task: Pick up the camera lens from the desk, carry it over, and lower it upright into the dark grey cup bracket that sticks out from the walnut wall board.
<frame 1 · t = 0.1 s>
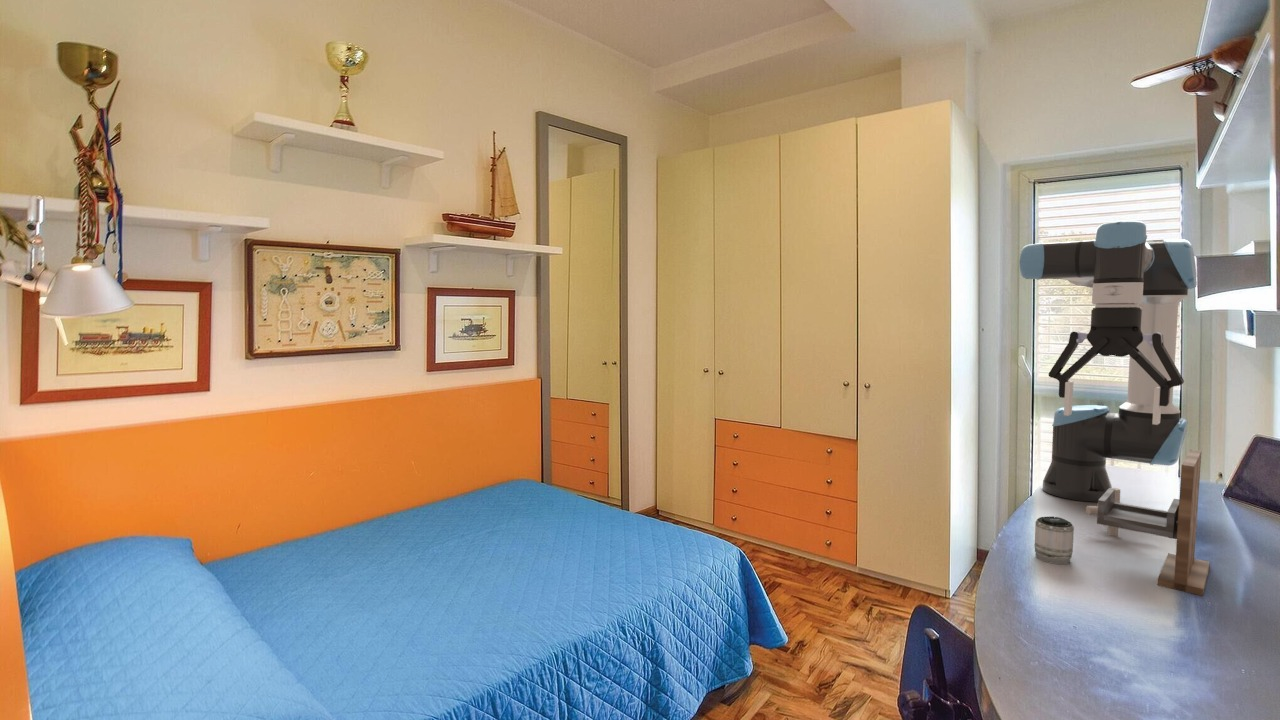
hand: (1110, 419, 119), 28 cm above the table, tool pointing down, fingers open, 13 cm apart
pipe connector: (1112, 535, 136), on the table
cup bracket: (1135, 565, 119), on the table
camera lens: (1052, 559, 123), on the table
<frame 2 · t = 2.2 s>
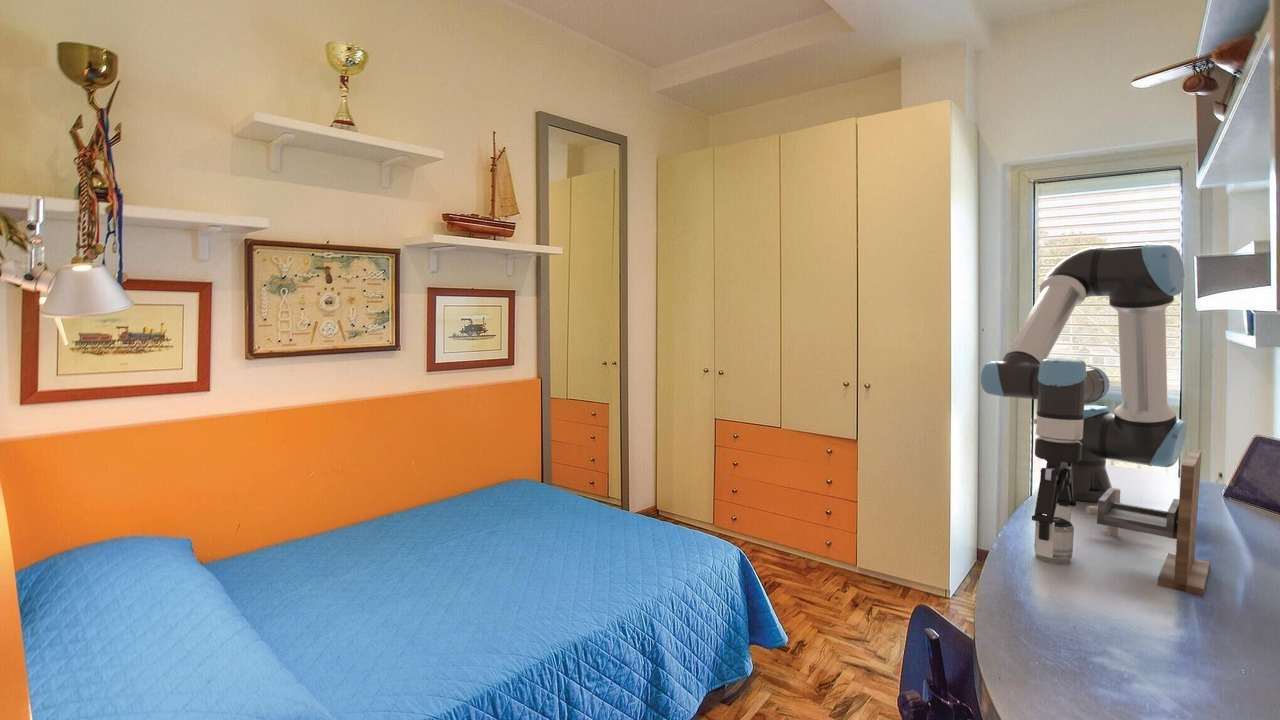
hand: (1052, 546, 123), 2 cm above the table, tool pointing down, fingers open, 13 cm apart
nothing on the table moved.
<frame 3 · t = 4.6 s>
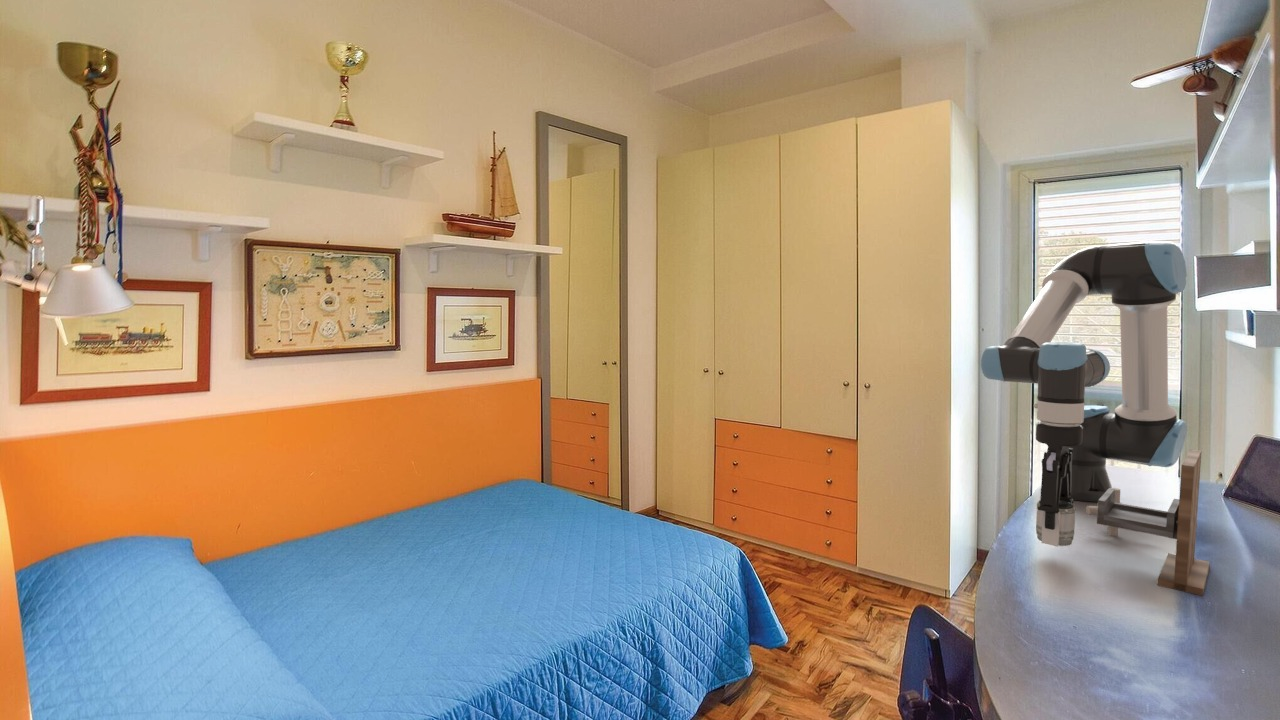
hand: (1054, 538, 123), 4 cm above the table, tool pointing down, fingers closed on camera lens, 6 cm apart
camera lens: (1054, 541, 123), point 3 cm above the table, touching gripper
everything else where it was.
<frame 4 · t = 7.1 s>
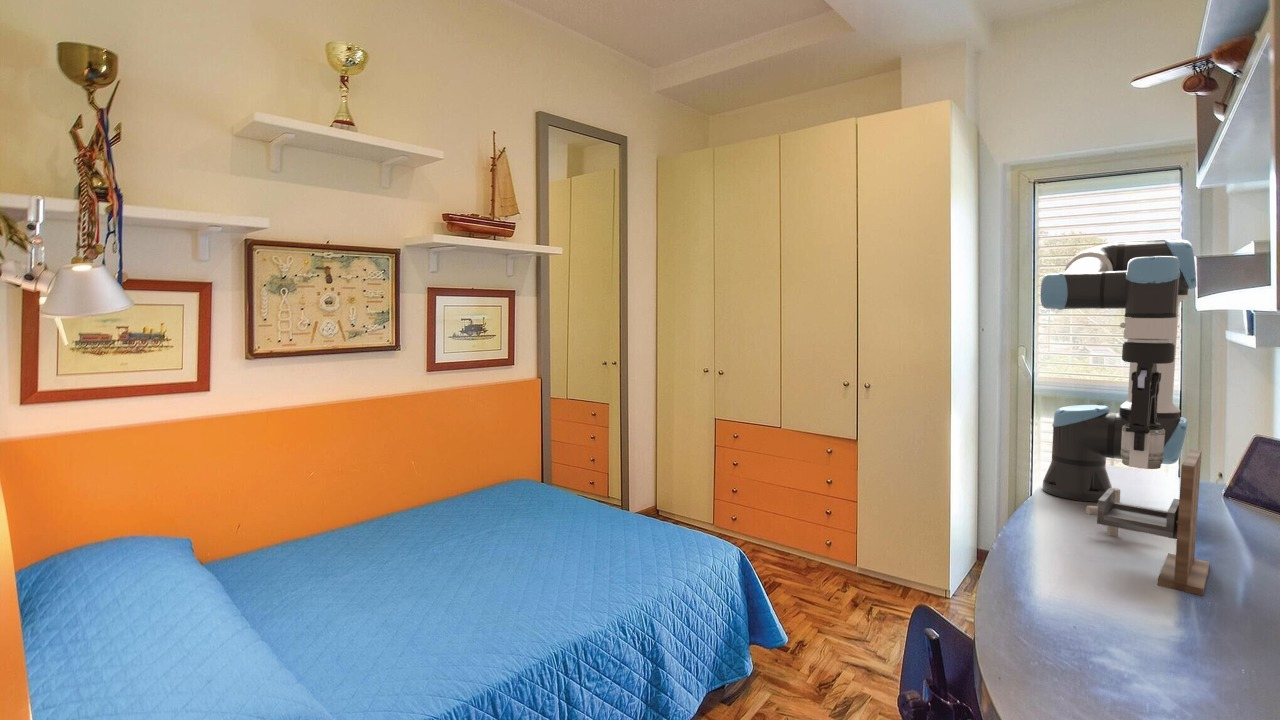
hand: (1141, 463, 118), 20 cm above the table, tool pointing down, fingers closed on camera lens, 6 cm apart
camera lens: (1141, 466, 118), point 19 cm above the table, touching gripper
everything else where it was.
when the fingers open (10 cm above the table, at t = 9.5 s): camera lens stays where it is, resting on cup bracket.
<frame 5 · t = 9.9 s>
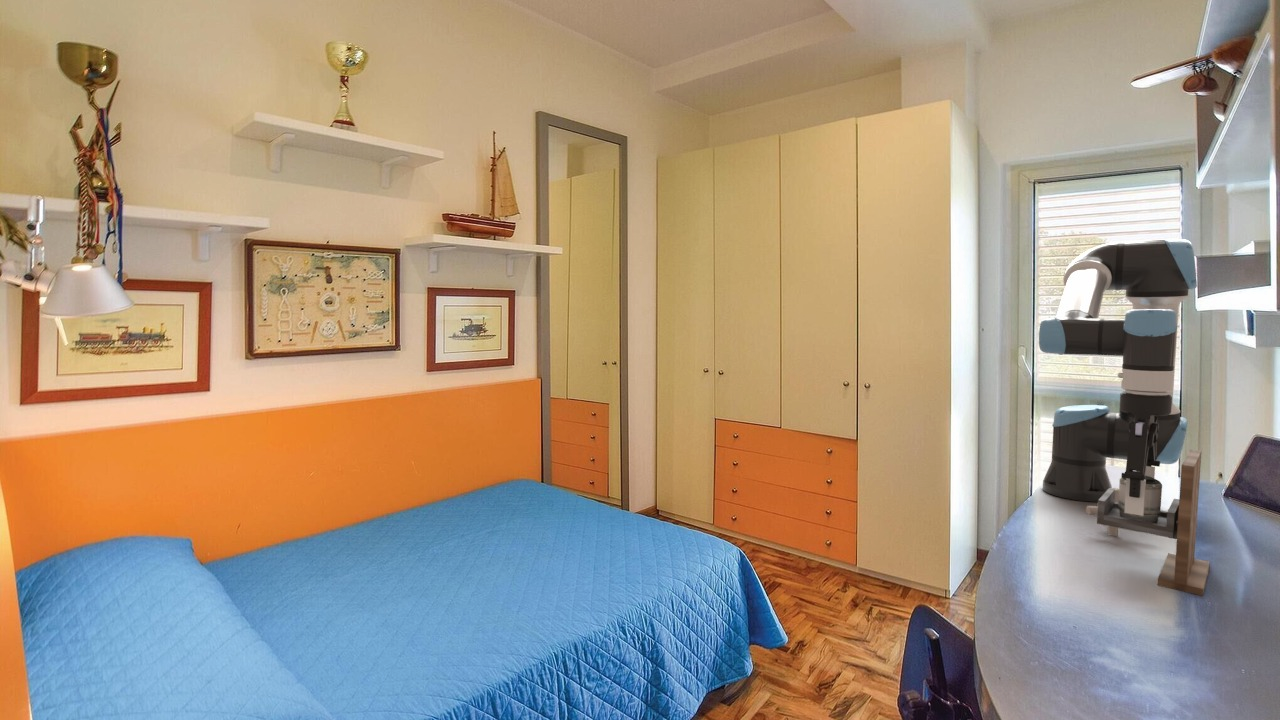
hand: (1139, 506, 118), 12 cm above the table, tool pointing down, fingers open, 12 cm apart
camera lens: (1138, 518, 119), point 9 cm above the table, touching cup bracket
everything else where it was.
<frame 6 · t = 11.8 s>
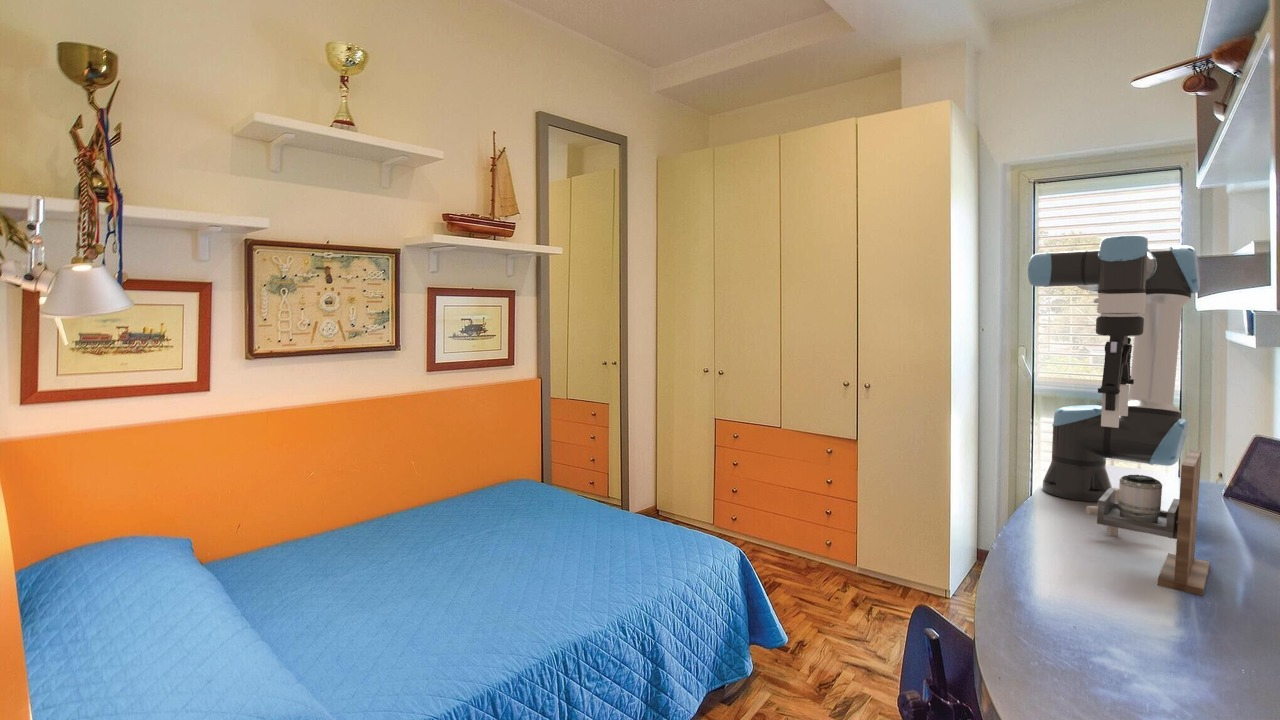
hand: (1114, 421, 126), 26 cm above the table, tool pointing down, fingers open, 13 cm apart
nothing on the table moved.
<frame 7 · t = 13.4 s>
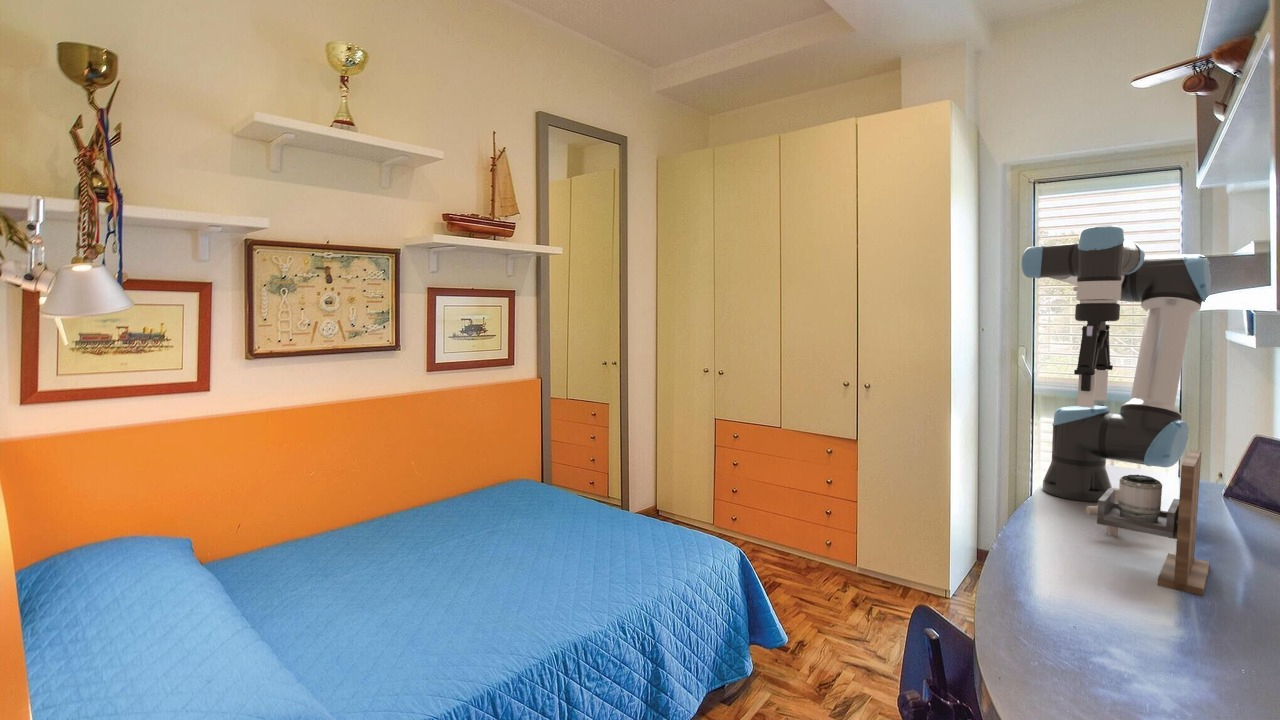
hand: (1092, 403, 133), 29 cm above the table, tool pointing down, fingers open, 13 cm apart
nothing on the table moved.
at the end: camera lens 0.1 cm off-centre on the cup bracket, point 9.0 cm above the cup bracket's base; camera lens tilted 0°; the gripper is holding nothing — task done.
